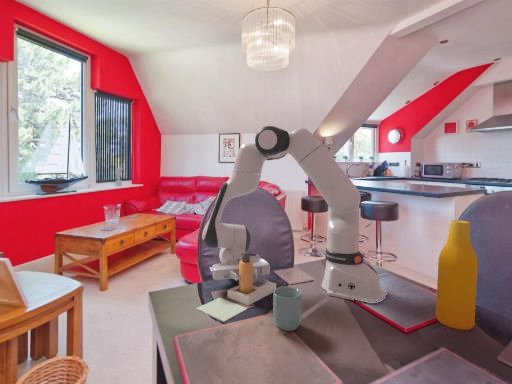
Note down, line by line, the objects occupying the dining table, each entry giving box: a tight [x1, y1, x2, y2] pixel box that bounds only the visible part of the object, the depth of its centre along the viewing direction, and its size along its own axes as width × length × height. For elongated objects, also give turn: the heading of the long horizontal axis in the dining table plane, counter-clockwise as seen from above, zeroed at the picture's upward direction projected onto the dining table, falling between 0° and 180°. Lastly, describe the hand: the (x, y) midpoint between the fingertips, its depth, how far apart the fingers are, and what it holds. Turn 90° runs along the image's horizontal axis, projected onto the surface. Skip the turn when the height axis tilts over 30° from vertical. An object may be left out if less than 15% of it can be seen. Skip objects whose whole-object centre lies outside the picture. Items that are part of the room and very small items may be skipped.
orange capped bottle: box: [238, 251, 253, 295], centre depth 97 cm, size 4×4×15 cm
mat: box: [195, 297, 248, 323], centre depth 89 cm, size 12×10×1 cm
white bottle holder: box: [227, 277, 277, 306], centre depth 100 cm, size 15×9×4 cm, turn 141°
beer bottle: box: [435, 219, 479, 331], centre depth 83 cm, size 9×9×29 cm
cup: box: [272, 285, 303, 332], centre depth 81 cm, size 8×8×10 cm
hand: (246, 277), depth 96 cm, fingers closed on orange capped bottle, 4 cm apart
